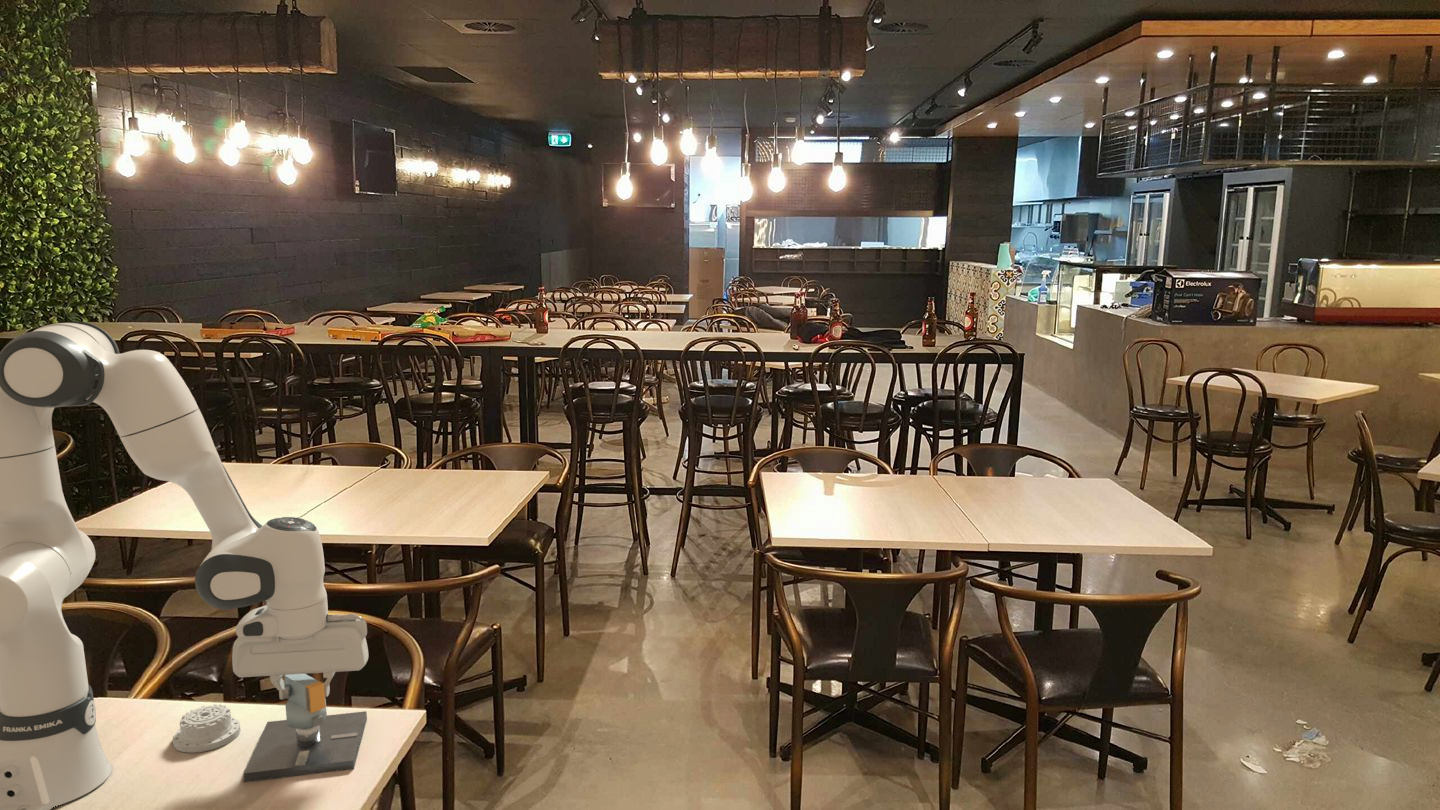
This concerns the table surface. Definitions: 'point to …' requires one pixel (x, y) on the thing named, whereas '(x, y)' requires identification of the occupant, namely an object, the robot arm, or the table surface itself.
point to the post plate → (307, 748)
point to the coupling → (305, 702)
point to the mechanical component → (206, 729)
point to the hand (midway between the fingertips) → (304, 696)
